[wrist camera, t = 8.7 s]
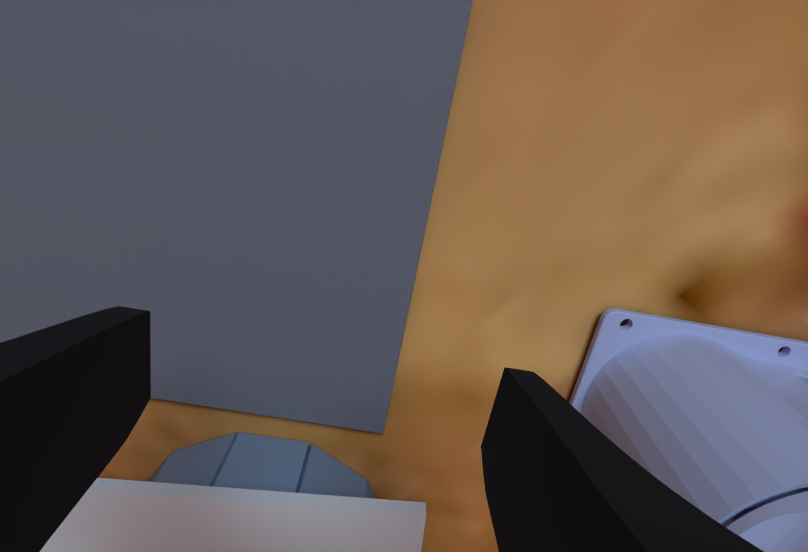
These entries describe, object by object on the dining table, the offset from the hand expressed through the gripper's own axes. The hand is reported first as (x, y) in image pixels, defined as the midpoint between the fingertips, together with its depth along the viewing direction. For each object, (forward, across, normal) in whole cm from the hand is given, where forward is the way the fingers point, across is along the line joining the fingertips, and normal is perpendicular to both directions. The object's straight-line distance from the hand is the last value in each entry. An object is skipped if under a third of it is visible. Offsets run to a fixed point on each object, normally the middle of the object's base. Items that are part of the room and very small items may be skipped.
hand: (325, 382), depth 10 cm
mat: (+10, +7, 0) cm, 12 cm away
